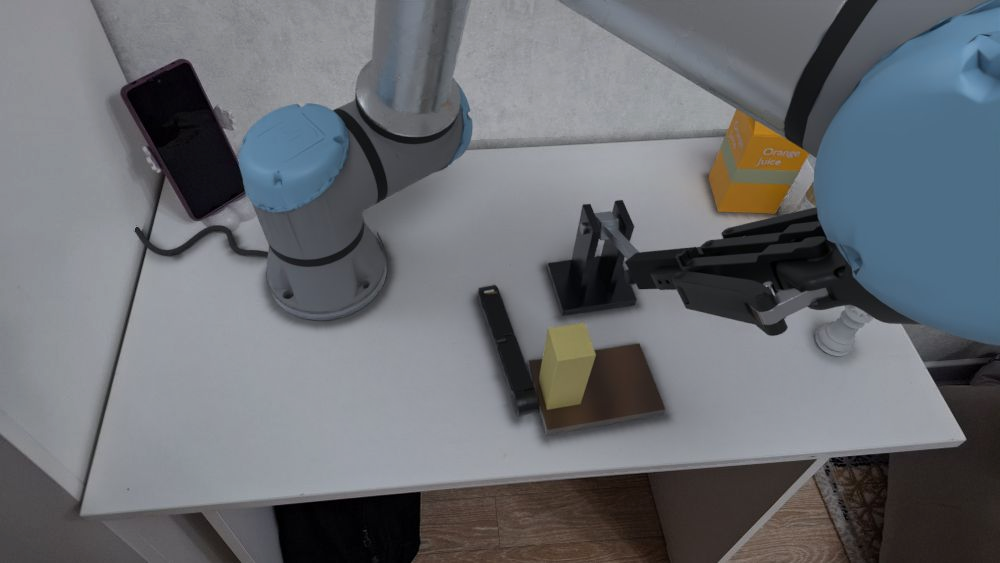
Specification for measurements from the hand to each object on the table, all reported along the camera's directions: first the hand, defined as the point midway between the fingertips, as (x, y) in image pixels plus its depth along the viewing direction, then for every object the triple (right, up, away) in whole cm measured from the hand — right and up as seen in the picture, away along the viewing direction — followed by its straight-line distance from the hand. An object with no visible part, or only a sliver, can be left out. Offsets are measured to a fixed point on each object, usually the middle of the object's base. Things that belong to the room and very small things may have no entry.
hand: (637, 271), depth 52 cm
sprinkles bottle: (+31, +5, +38) cm, 50 cm away
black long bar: (-11, -10, +25) cm, 29 cm away
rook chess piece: (+31, -9, +27) cm, 42 cm away
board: (0, -14, +22) cm, 26 cm away
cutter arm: (+2, +2, +17) cm, 17 cm away
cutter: (+1, -2, +31) cm, 31 cm away
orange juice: (+25, +12, +43) cm, 52 cm away
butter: (-5, -14, +20) cm, 25 cm away
